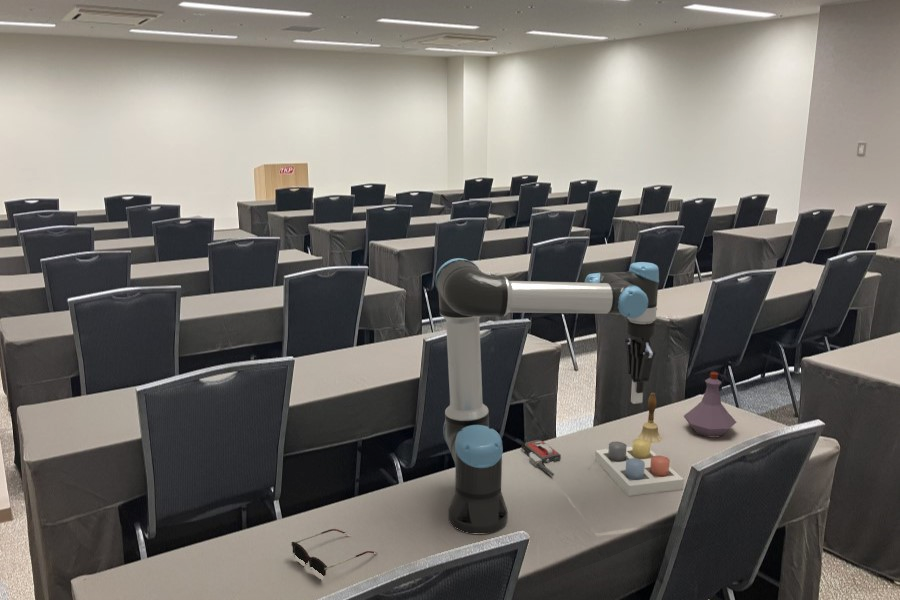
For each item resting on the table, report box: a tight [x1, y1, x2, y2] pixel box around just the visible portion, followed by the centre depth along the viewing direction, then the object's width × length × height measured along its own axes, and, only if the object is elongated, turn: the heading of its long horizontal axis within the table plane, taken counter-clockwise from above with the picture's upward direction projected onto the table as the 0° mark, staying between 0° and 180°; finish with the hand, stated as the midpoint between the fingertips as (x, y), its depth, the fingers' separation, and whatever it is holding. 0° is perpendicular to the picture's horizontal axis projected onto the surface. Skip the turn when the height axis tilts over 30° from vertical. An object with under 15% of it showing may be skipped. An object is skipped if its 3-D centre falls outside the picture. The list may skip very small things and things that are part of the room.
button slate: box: [625, 458, 645, 480], centre depth 208 cm, size 5×5×4 cm
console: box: [594, 445, 684, 497], centre depth 215 cm, size 16×22×4 cm
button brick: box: [650, 454, 671, 477], centre depth 210 cm, size 5×5×4 cm
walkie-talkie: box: [521, 439, 562, 477], centre depth 224 cm, size 9×4×20 cm
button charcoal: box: [608, 441, 628, 462], centre depth 218 cm, size 5×5×4 cm
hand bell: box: [637, 392, 662, 444], centre depth 237 cm, size 8×8×16 cm
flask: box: [683, 371, 738, 437], centre depth 243 cm, size 16×16×20 cm
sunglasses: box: [290, 528, 375, 577], centre depth 177 cm, size 14×16×5 cm
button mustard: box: [632, 438, 651, 459], centre depth 220 cm, size 5×5×4 cm
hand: (636, 402), depth 209 cm, fingers closed
